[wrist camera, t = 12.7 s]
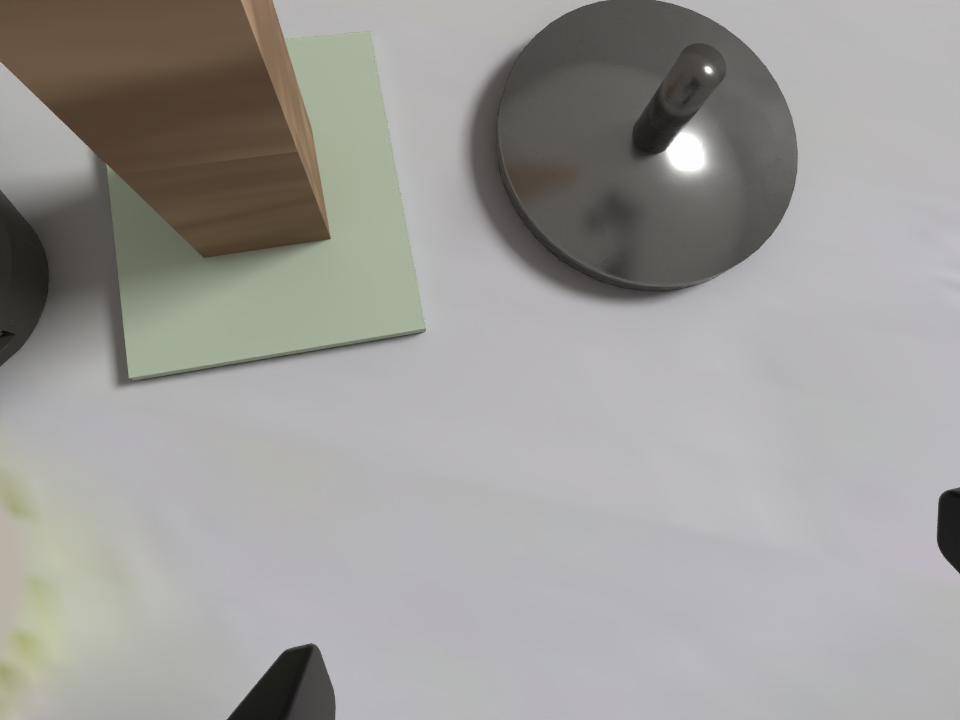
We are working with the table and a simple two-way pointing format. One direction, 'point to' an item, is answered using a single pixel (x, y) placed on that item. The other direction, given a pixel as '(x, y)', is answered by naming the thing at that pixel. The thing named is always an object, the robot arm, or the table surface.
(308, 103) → the rubber mat
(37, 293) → the media streaming box
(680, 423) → the table surface
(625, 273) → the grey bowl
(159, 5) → the walnut block
